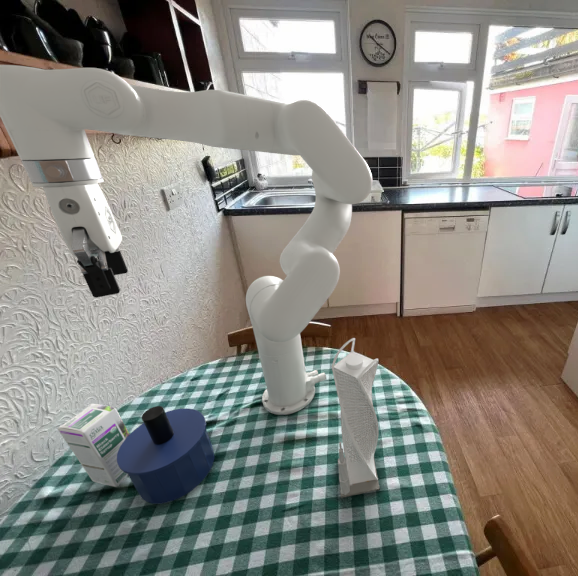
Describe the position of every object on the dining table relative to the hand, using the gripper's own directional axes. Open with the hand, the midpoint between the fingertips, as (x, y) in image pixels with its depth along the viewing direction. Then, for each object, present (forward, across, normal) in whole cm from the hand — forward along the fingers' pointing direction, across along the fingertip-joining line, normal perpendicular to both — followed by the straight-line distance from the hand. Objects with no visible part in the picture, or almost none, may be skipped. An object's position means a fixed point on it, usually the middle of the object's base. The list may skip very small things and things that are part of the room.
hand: (112, 283), depth 51 cm
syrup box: (+37, -2, +10) cm, 38 cm away
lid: (+28, -8, 0) cm, 29 cm away
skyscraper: (+37, -27, -30) cm, 55 cm away
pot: (+37, -8, 0) cm, 38 cm away
